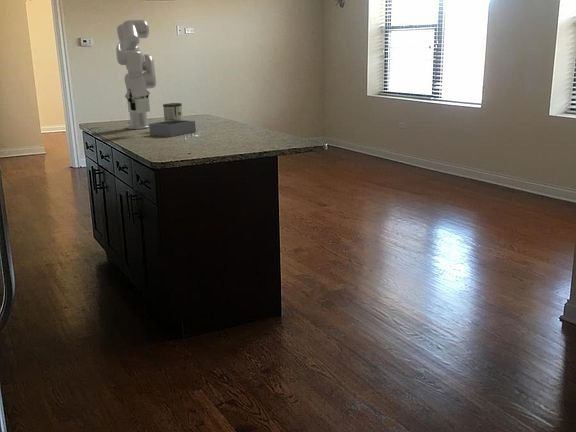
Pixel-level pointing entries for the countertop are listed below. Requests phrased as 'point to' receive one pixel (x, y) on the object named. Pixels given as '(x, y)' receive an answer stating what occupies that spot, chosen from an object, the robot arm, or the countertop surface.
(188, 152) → the countertop surface
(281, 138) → the countertop surface
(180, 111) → the coffee can
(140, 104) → the sage crate
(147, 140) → the countertop surface
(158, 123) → the charcoal crate
